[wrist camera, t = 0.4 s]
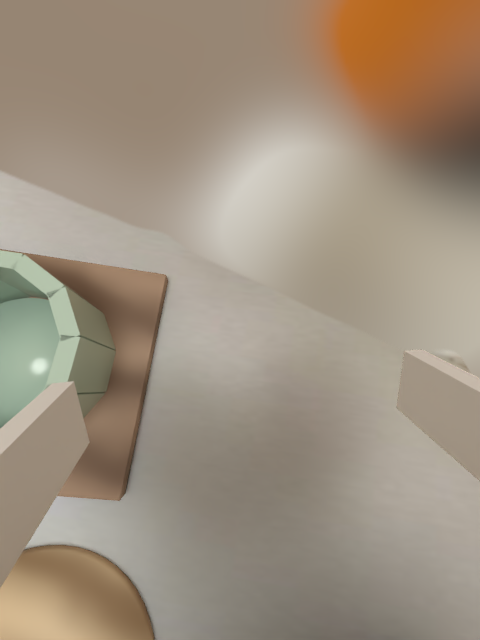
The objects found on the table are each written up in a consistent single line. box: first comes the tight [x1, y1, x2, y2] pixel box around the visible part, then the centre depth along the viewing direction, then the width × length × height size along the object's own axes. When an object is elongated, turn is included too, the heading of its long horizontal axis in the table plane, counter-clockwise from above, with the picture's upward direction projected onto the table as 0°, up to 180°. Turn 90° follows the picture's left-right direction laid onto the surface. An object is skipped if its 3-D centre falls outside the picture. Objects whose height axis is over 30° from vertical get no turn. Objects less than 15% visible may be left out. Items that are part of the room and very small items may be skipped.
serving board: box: [0, 249, 168, 501], centre depth 23 cm, size 20×20×2 cm
